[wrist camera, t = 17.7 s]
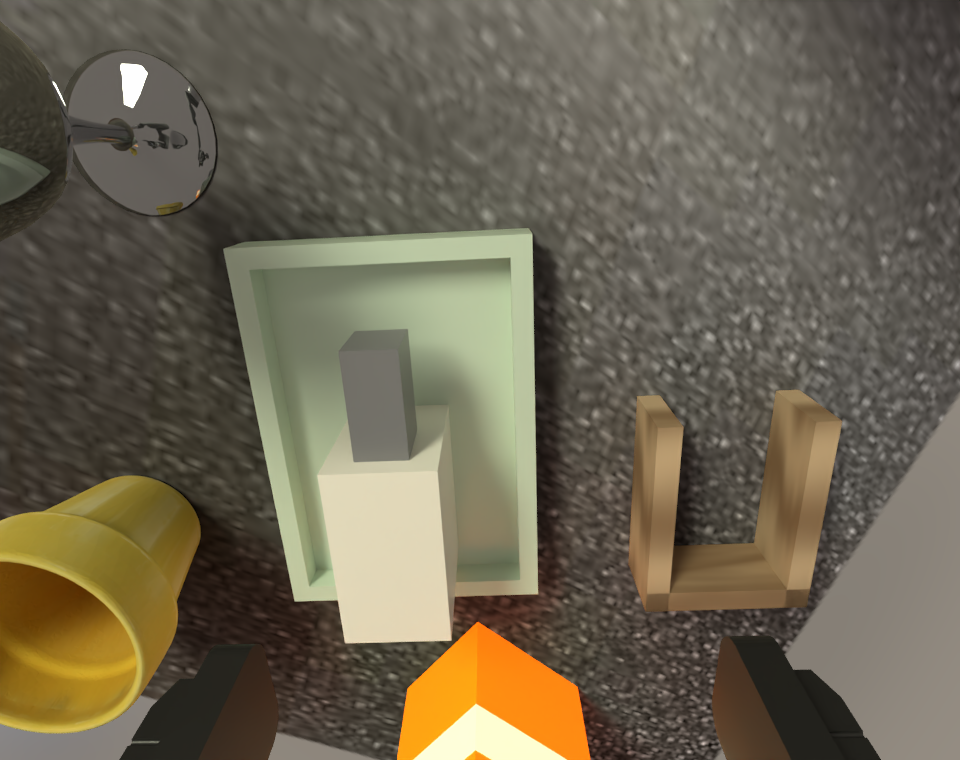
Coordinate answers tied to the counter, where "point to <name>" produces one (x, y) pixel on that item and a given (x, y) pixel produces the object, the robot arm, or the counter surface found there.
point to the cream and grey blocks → (390, 500)
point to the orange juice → (491, 707)
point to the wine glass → (99, 134)
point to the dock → (780, 526)
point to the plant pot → (90, 602)
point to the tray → (435, 372)
